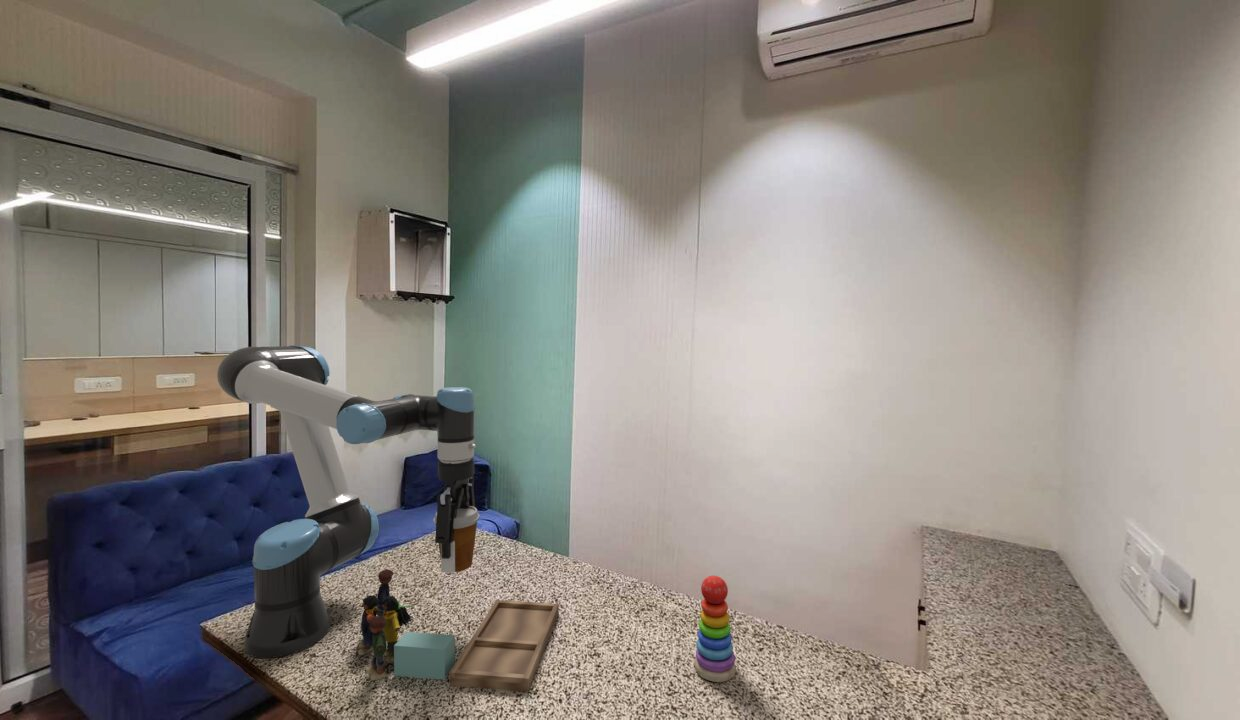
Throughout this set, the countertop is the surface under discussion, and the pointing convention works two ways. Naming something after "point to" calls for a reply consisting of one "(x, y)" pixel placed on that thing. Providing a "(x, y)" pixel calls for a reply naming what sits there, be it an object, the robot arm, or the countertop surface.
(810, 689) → the countertop surface
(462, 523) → the disposable coffee cup
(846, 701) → the countertop surface
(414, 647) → the teal rectangular block
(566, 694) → the countertop surface
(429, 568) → the countertop surface
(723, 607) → the stacking toy
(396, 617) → the doll family
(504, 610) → the divided compartment tray
